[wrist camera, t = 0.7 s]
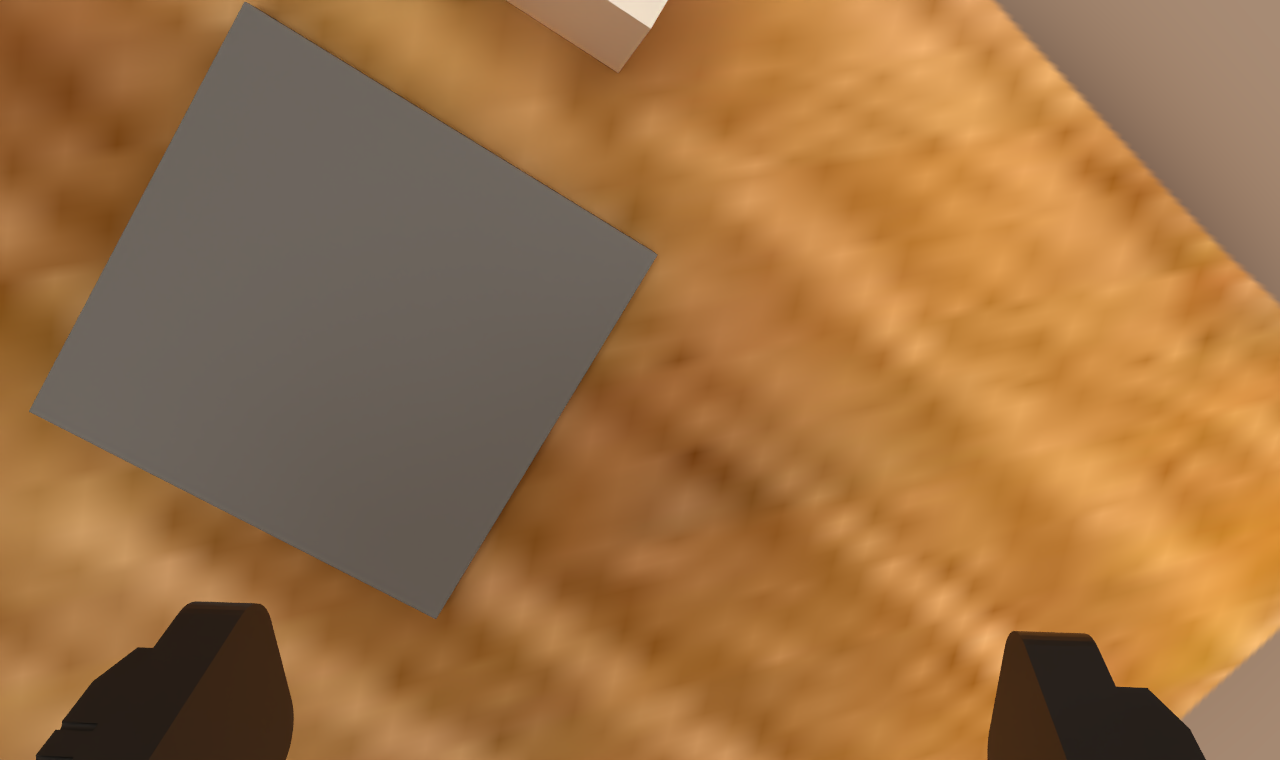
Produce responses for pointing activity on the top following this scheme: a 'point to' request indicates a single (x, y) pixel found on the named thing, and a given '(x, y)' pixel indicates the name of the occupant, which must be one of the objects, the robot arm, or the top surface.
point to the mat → (340, 318)
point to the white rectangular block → (597, 24)
